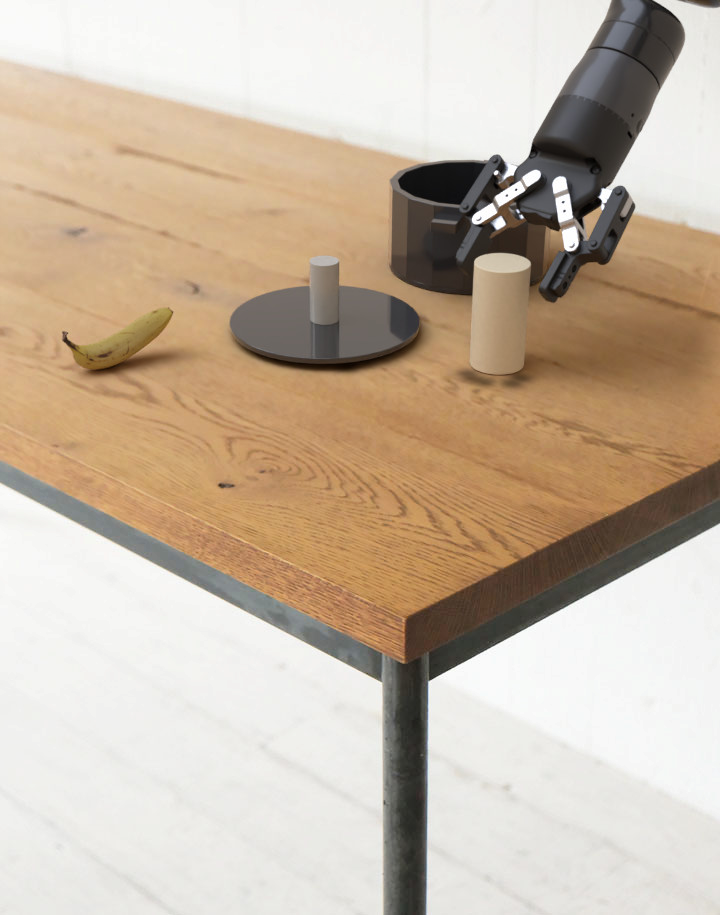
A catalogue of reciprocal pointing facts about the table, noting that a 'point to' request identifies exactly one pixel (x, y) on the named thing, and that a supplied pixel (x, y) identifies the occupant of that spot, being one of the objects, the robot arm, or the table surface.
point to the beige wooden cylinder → (499, 313)
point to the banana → (121, 341)
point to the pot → (447, 227)
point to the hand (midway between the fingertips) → (503, 284)
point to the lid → (324, 320)
